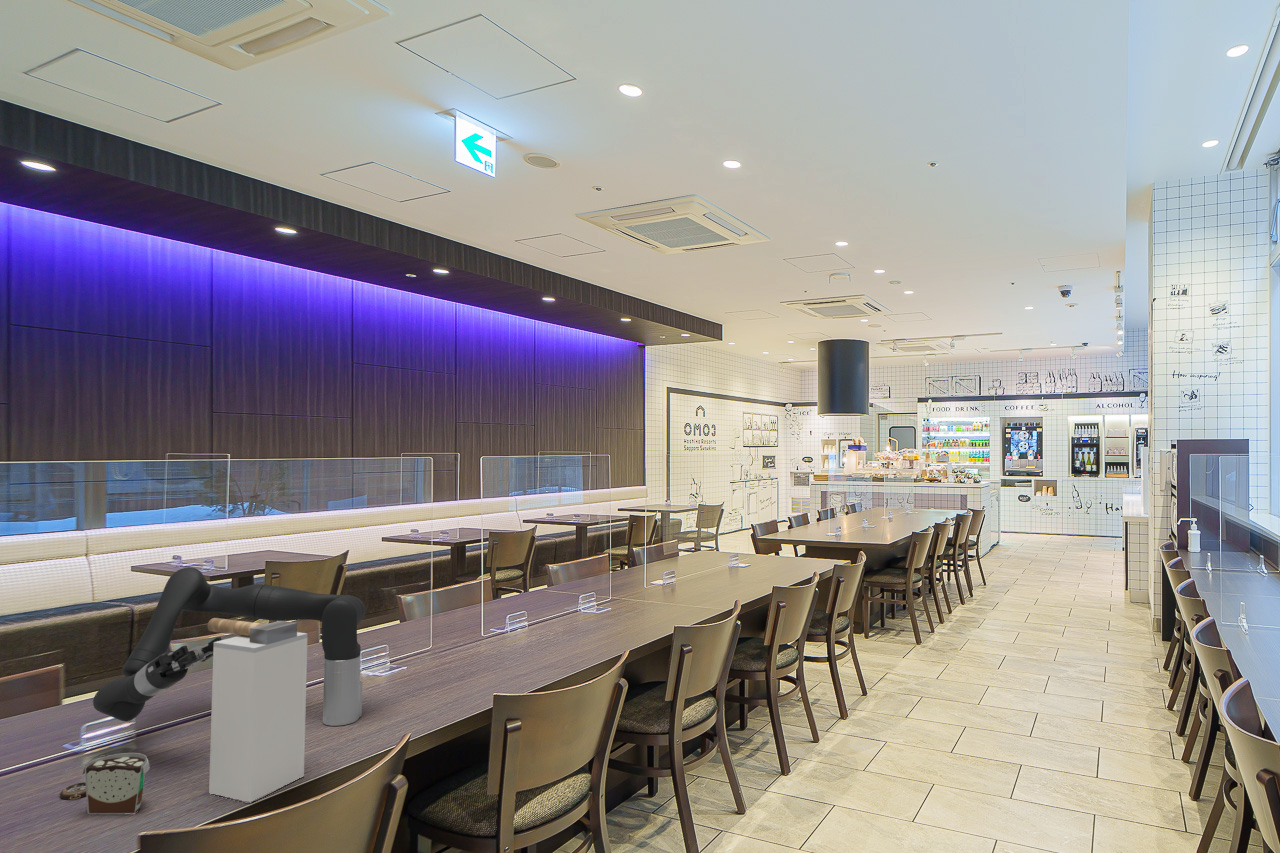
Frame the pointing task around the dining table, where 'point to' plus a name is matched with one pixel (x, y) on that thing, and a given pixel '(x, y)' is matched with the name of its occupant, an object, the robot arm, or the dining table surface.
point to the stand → (257, 716)
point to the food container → (115, 783)
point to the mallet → (255, 630)
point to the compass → (75, 790)
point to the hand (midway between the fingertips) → (204, 645)
